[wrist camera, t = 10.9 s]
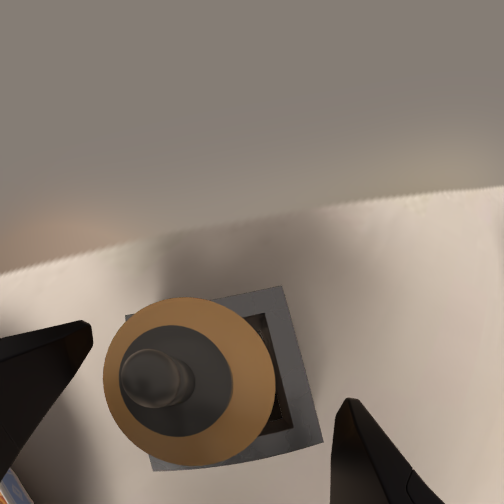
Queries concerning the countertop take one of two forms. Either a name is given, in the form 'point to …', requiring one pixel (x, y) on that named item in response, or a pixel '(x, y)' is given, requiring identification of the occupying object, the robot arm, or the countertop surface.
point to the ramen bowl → (13, 490)
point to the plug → (189, 381)
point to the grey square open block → (286, 381)
